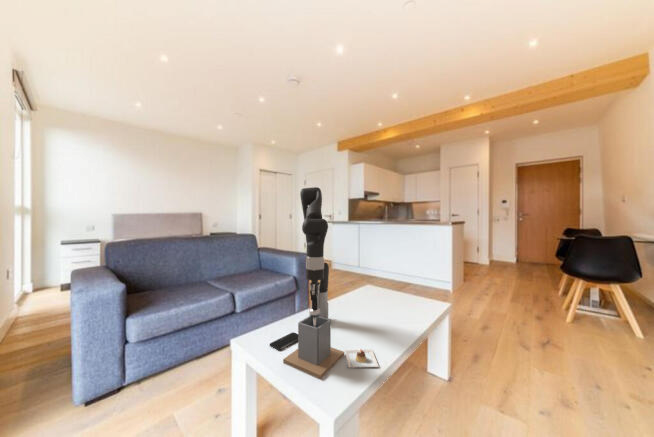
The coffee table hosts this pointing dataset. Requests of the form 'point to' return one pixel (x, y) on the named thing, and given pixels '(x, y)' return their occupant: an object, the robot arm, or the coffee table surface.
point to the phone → (285, 341)
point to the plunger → (314, 315)
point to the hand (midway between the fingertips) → (314, 309)
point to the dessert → (361, 357)
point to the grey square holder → (314, 348)
